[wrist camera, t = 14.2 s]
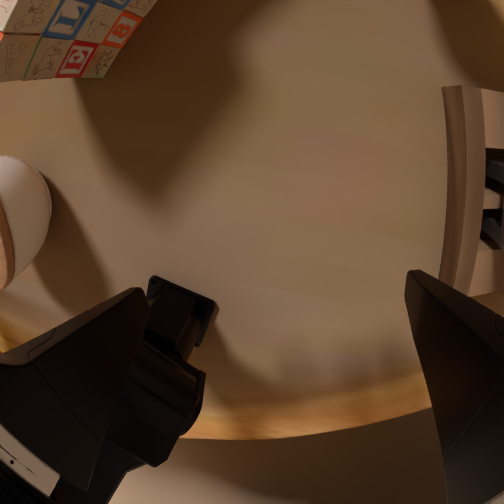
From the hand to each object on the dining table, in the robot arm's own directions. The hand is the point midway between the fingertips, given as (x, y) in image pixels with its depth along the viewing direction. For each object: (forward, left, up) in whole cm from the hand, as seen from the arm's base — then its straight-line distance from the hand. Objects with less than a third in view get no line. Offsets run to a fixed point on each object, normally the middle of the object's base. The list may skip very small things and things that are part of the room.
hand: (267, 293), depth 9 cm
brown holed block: (-8, +16, -13) cm, 22 cm away
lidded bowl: (+10, -25, -13) cm, 30 cm away
